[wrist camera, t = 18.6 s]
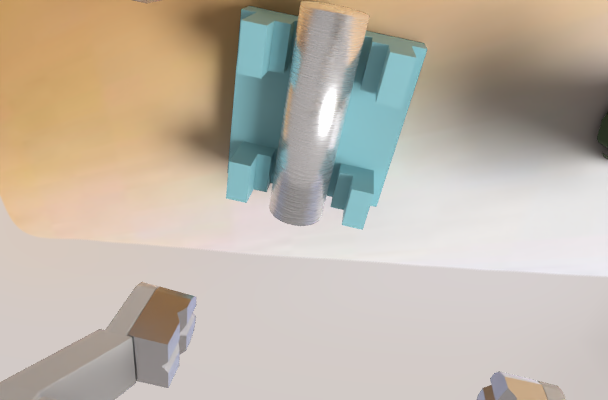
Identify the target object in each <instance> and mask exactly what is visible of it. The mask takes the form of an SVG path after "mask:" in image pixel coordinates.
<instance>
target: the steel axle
mask: <svg viewBox="0 0 608 400" xmlns="http://www.w3.org/2000/svg"><path fill="white" fill-rule="evenodd" d="M368 21H369V15H368V14H366V13H364V12H361V11H358V10H355V9H351V8H347V7H343V6H339V5H334V4H328V3H322V2H314V1H302V2H301V3H300V10H299V16H298V23H297V29H296V36H295V42H294V49H293V55H292V62H291V68H290V75H289V81H288V88H287V94H286V101H285V107H284V114H283V120H282V127H281V133H280V140H279V146H278V153H277V159H276V166H275V173H274V179H273V186H272V192H271V199H270V205H269V208H270V211H271V213H272V214H273V216H275V217H276V218H277V219H279V220H280V221H282V222H285V223H287V224H291V225H297V226H306V225H311V224H314V223H316V222H318V221H319V220H320V218H321V216H322V212H323V208H324V204H325V200H326V195H327V191H328V187H329V183H330V179H331V175H332V170H333V166H334V162H335V158H336V154H337V150H338V145H339V141H340V137H341V133H342V129H343V125H344V121H345V116H346V112H347V108H348V104H349V100H350V96H351V91H352V87H353V83H354V79H355V75H356V71H357V66H358V62H359V58H360V54H361V50H362V46H363V41H364V37H365V33H366V29H367V25H368Z"/></svg>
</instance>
